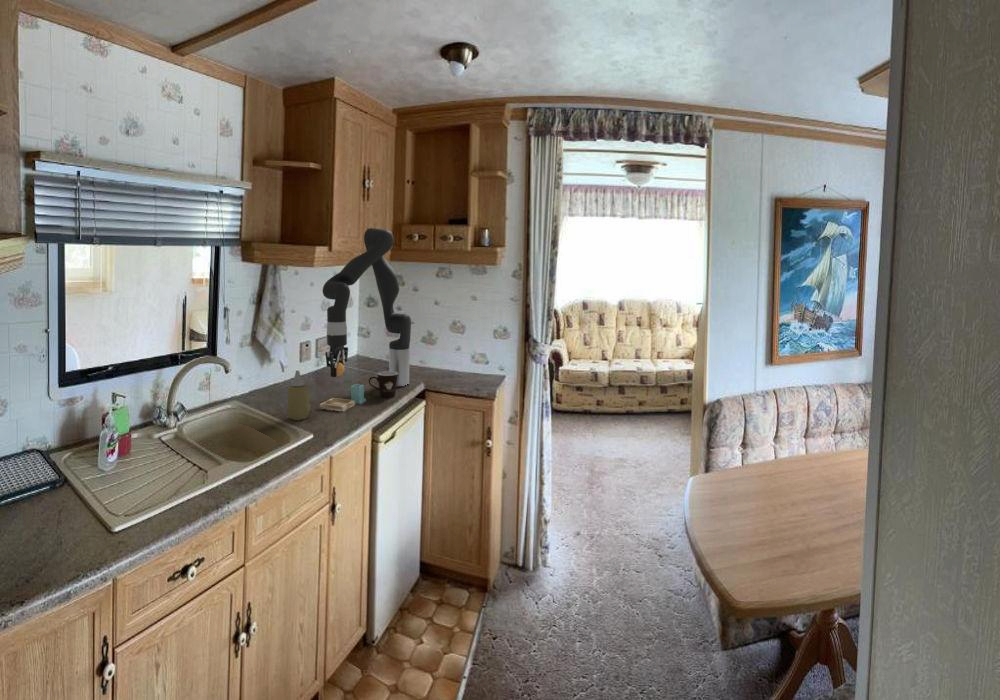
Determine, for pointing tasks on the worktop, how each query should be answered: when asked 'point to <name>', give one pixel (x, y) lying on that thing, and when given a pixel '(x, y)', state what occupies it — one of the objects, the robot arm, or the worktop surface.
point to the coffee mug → (386, 383)
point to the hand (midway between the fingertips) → (337, 375)
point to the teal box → (357, 393)
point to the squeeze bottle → (298, 399)
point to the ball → (340, 368)
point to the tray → (337, 404)
